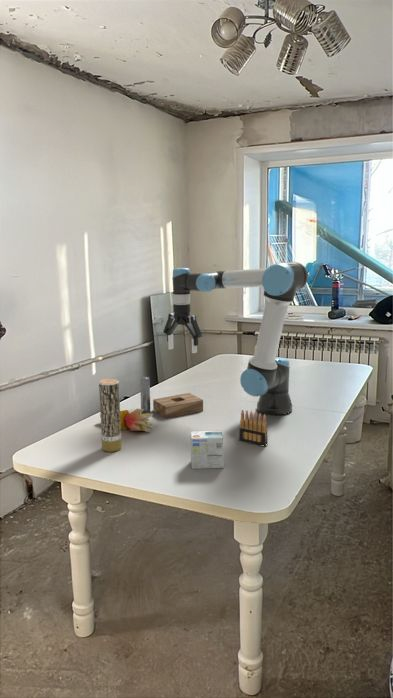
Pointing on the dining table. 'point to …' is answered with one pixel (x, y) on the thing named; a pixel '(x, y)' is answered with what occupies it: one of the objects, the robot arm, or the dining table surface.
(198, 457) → the light bulb box
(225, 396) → the dining table surface
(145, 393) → the pin
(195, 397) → the bore block
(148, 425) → the torch
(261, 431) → the ammunition clip
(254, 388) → the robot arm
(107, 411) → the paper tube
